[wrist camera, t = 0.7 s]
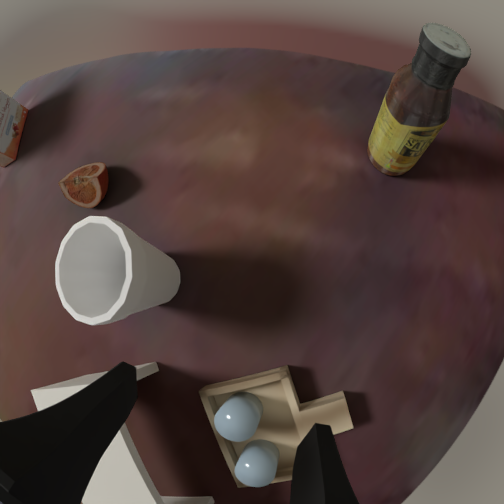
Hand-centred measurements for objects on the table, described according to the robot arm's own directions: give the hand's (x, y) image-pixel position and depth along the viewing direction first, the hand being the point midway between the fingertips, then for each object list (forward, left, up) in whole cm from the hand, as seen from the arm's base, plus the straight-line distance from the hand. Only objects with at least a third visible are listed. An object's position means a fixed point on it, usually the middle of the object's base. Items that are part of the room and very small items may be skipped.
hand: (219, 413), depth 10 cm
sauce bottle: (+16, -20, -23) cm, 34 cm away
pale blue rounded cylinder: (-14, +6, -22) cm, 26 cm away
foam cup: (+11, +12, -23) cm, 27 cm away
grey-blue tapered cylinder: (-7, +6, -22) cm, 24 cm away
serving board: (-10, +2, -22) cm, 25 cm away
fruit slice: (+27, +19, -23) cm, 40 cm away
